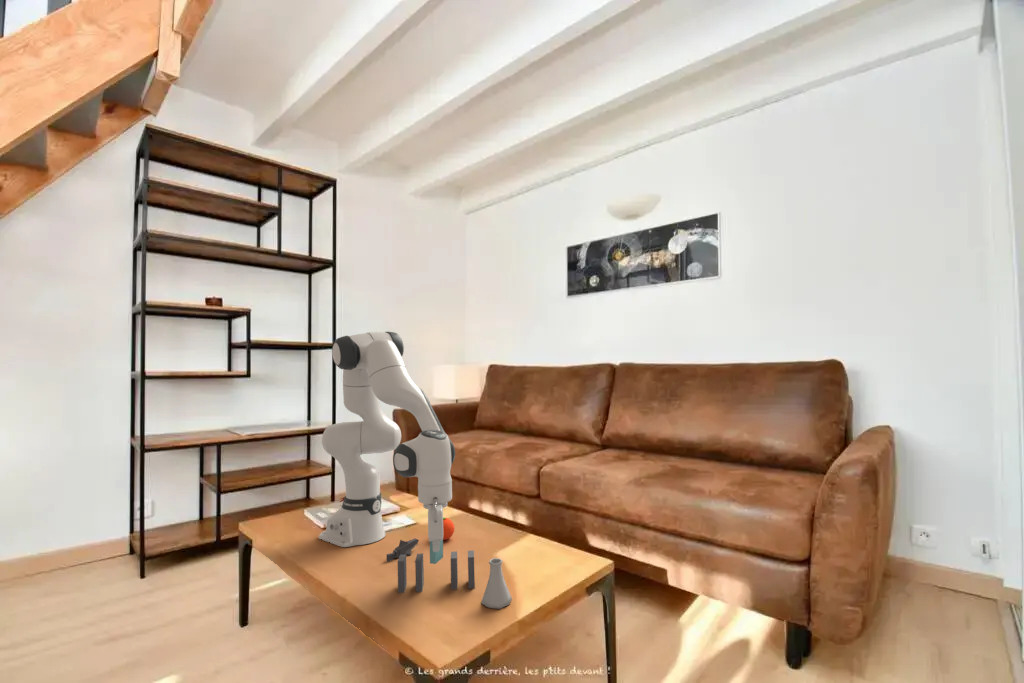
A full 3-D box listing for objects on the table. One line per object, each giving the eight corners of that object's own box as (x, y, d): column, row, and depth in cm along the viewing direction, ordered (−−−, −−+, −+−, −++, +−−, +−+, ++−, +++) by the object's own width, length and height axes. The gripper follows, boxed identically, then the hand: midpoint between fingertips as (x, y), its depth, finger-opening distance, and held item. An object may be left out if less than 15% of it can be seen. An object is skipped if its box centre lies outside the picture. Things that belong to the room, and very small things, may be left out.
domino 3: (429, 563, 125) (429, 531, 125) (437, 556, 129) (437, 526, 129) (435, 564, 124) (435, 532, 125) (443, 557, 129) (442, 526, 129)
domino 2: (415, 592, 124) (415, 560, 124) (417, 584, 129) (417, 553, 129) (422, 591, 124) (421, 560, 125) (423, 583, 129) (423, 553, 129)
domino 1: (398, 593, 124) (397, 561, 124) (400, 585, 128) (400, 554, 128) (404, 592, 124) (403, 561, 124) (406, 584, 128) (406, 554, 129)
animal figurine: (392, 568, 142) (389, 551, 142) (383, 564, 145) (380, 548, 144) (423, 547, 151) (421, 532, 151) (414, 544, 154) (412, 529, 153)
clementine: (428, 538, 161) (428, 516, 162) (446, 533, 166) (446, 512, 166) (439, 545, 155) (439, 522, 155) (458, 539, 159) (458, 518, 159)
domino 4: (451, 589, 125) (450, 558, 125) (451, 582, 129) (451, 551, 130) (457, 589, 125) (456, 558, 125) (457, 581, 130) (457, 551, 130)
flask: (500, 612, 113) (499, 569, 114) (475, 604, 117) (475, 563, 118) (516, 599, 120) (515, 558, 120) (492, 592, 123) (491, 552, 124)
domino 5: (468, 588, 125) (467, 557, 126) (468, 580, 130) (467, 550, 130) (474, 588, 126) (474, 557, 126) (474, 580, 130) (473, 550, 130)
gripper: (448, 503, 118) (449, 561, 117) (446, 483, 138) (447, 532, 137) (422, 505, 117) (423, 563, 116) (423, 484, 137) (424, 533, 136)
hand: (436, 546), depth 127 cm, fingers closed on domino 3, 5 cm apart
